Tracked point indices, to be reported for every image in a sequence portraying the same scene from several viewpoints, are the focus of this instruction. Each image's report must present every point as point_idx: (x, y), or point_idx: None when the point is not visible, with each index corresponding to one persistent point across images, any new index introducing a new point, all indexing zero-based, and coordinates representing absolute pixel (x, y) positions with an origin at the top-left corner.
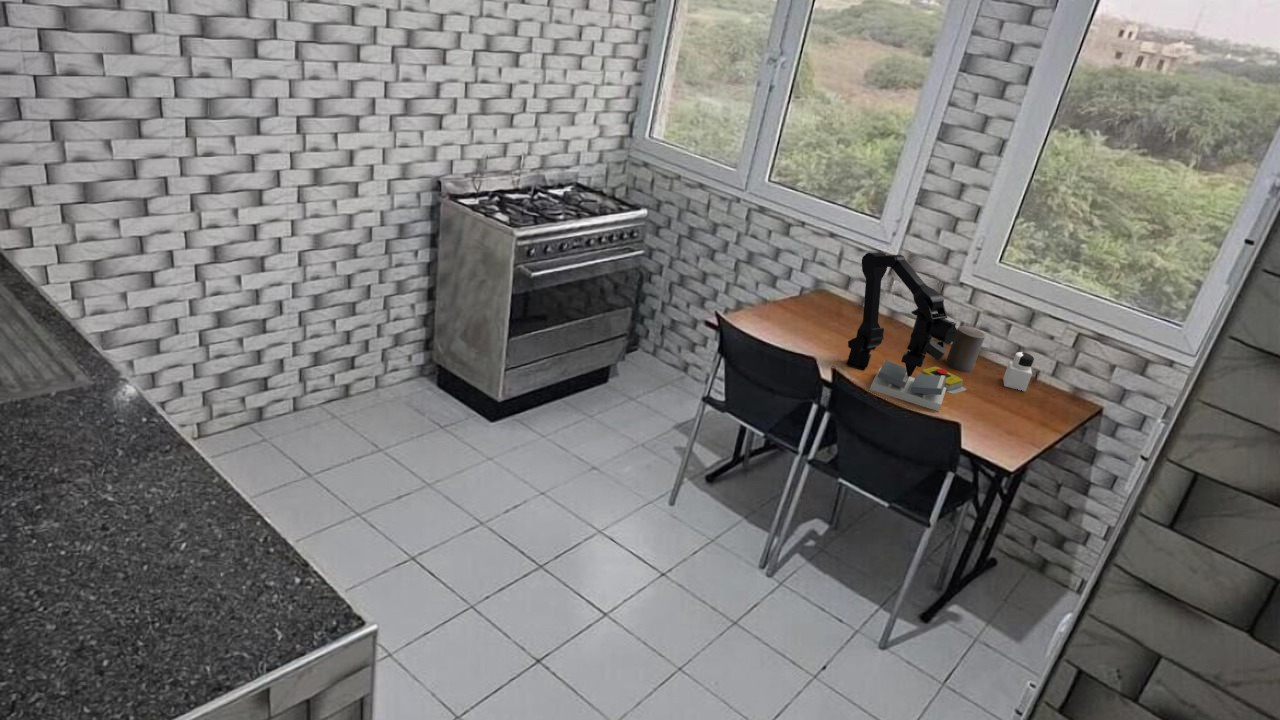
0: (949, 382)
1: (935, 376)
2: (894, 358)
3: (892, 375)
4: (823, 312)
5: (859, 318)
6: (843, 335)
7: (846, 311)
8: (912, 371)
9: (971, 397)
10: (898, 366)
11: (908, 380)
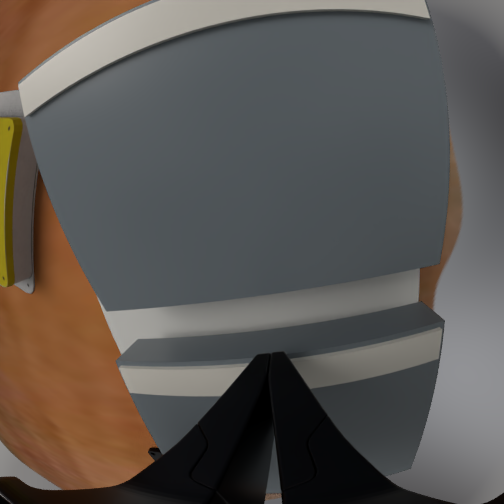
0: (3, 132)
1: (56, 152)
2: (25, 375)
3: (399, 428)
4: (50, 472)
5: (3, 426)
6: (74, 466)
7: (11, 440)
8: (311, 395)
9: (36, 40)
10: (177, 441)
11: (169, 320)
